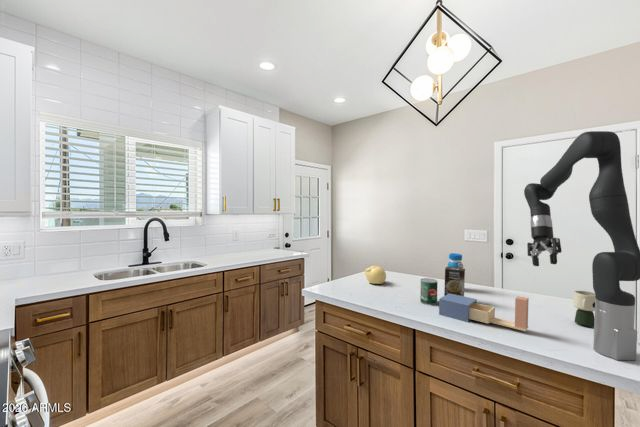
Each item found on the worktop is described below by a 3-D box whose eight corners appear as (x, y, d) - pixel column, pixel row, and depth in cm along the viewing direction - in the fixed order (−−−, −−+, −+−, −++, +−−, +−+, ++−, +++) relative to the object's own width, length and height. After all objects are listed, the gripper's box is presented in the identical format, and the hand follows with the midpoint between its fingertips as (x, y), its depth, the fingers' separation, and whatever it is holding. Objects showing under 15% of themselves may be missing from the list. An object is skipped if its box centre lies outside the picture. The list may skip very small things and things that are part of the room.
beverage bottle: (447, 290, 166) (448, 255, 166) (446, 286, 175) (446, 252, 174) (464, 292, 164) (464, 255, 163) (461, 287, 172) (462, 253, 171)
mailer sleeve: (476, 314, 131) (476, 299, 130) (468, 322, 123) (468, 305, 123) (448, 308, 139) (449, 293, 139) (439, 314, 131) (439, 298, 131)
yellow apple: (374, 279, 190) (374, 262, 190) (389, 283, 181) (389, 266, 180) (362, 282, 183) (362, 265, 183) (377, 287, 174) (377, 268, 173)
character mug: (596, 331, 114) (597, 298, 113) (571, 326, 119) (572, 294, 118) (597, 323, 121) (598, 292, 121) (574, 318, 126) (575, 288, 126)
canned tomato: (422, 298, 153) (422, 277, 152) (438, 301, 149) (438, 279, 148) (418, 303, 146) (418, 281, 145) (435, 306, 142) (436, 283, 141)
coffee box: (443, 300, 150) (444, 268, 149) (445, 296, 156) (445, 266, 155) (463, 303, 146) (464, 270, 145) (464, 299, 151) (465, 268, 151)
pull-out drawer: (529, 326, 116) (529, 296, 116) (524, 332, 110) (525, 301, 110) (467, 311, 132) (467, 285, 132) (460, 316, 126) (460, 289, 126)
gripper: (520, 229, 135) (523, 265, 130) (547, 222, 121) (551, 262, 116) (535, 232, 135) (538, 267, 131) (564, 224, 122) (568, 264, 117)
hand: (544, 265), depth 124 cm, fingers open, 8 cm apart
